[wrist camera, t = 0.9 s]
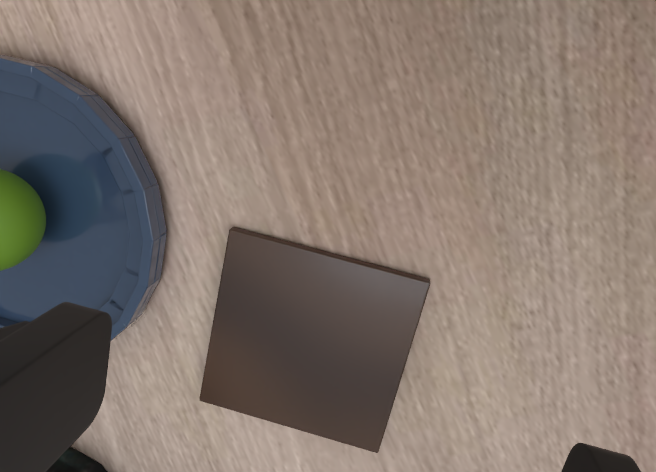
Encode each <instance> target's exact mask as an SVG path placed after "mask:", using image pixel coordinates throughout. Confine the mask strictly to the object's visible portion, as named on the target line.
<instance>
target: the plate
mask: <svg viewBox="0 0 656 472" xmlns="http://www.w3.org/2000/svg"><path fill="white" fill-rule="evenodd" d="M0 169H2V170H5V171H8V172H11V173H13V174H15V175H17V176H19V177H20V178H22V179H23V180H25V181H26V182H27V183H28V184H29V185H31V186H32V188H33V189H34V190H35V191H36V192H37V194H38V195H39V197H40V199H41V201H42V203H43V206H44V209H45V213H46V228H45V232H44V235H43V238H42V240H41V242H40V244H39V246H38V247H37V248H36V250H35V251H34V252H33V253H32V254H31V255H30V256H29V257H28V258H27V259H25V260H24V261H22V262H21V263H19V264H17V265H15V266H13V267H11V268H8V269H5V270H1V271H0V328H2V327H6V326H9V325H13V324H16V323H19V322H23V321H28V322H31V321H32V320H34V319H36V318H37V317H39V316H41V315H42V314H44V313H46V312H47V311H49V310H51V309H52V308H54V307H55V306H57V305H59V304H61V303H63V302H70V303H73V304H77V305H81V306H85V307H88V308H92V309H96V310H99V311H103V312H106V313H108V314H109V315H110V316H111V320H112V332H111V340H112V339H114V338H115V337H116V336H117V335H118V334H119V333H120V332H122V331H123V330H124V329H125V328H126V327H127V326H129V325H130V324H131V323H132V322H133V321H134V320H135V319H137V318H138V317H139V316H140V315H141V314H142V312H143V310H144V309H145V307H146V305H147V303H148V301H149V299H150V297H151V295H152V293H153V291H154V290H155V288H156V286H157V284H158V282H159V280H160V278H161V271H162V264H163V257H164V250H165V242H166V235H167V233H166V232H167V230H166V224H165V218H164V213H163V207H162V201H161V195H160V190H159V185H158V184H157V183H158V182H157V180H156V178H155V176H154V173H153V171H152V169H151V167H150V165H149V163H148V161H147V159H146V157H145V155H144V153H143V151H142V149H141V147H140V145H139V143H138V141H137V139H136V137H135V136H134V134H133V133H132V132H131V131H130V129H129V128H128V127H127V126H126V125H125V124H124V123H123V122H122V121H121V119H120V118H119V117H118V116H117V115H116V114H115V113H114V112H113V110H112V109H111V108H110V107H109V106H108V105H107V104H106V103H105V101H104V100H103V99H102V98H101V97H100V96H99V95H98V94H97V93H95V92H93V91H92V90H90V89H89V88H87V87H85V86H84V85H82V84H81V83H79V82H77V81H76V80H74V79H73V78H71V77H69V76H68V75H66V74H64V73H63V72H61V71H60V70H58V69H56V68H55V67H52V66H48V65H44V64H40V63H36V62H32V61H28V60H24V59H20V58H16V57H12V56H8V55H0Z"/></svg>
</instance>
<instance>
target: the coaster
mask: <svg viewBox="0 0 656 472" xmlns="http://www.w3.org/2000/svg"><path fill="white" fill-rule="evenodd" d="M429 286H430V279H427V278H423V277H419V276H416V275H412V274H408V273H404V272H401V271H397V270H393V269H389V268H386V267H382V266H378V265H374V264H371V263H367V262H363V261H359V260H356V259H352V258H348V257H344V256H341V255H337V254H333V253H329V252H326V251H322V250H318V249H314V248H311V247H307V246H303V245H299V244H296V243H292V242H288V241H284V240H281V239H277V238H273V237H269V236H266V235H262V234H258V233H254V232H251V231H247V230H243V229H239V228H236V227H232V228H231V229H230V230H229V236H228V242H227V247H226V253H225V258H224V264H223V270H222V275H221V281H220V287H219V292H218V298H217V304H216V309H215V315H214V320H213V326H212V332H211V337H210V343H209V349H208V354H207V360H206V366H205V371H204V377H203V382H202V388H201V394H200V401H203V402H206V403H210V404H213V405H217V406H220V407H223V408H227V409H230V410H234V411H237V412H240V413H244V414H247V415H250V416H254V417H257V418H261V419H264V420H267V421H271V422H274V423H278V424H281V425H284V426H288V427H291V428H295V429H298V430H301V431H305V432H308V433H311V434H315V435H318V436H322V437H325V438H328V439H332V440H335V441H339V442H342V443H345V444H349V445H352V446H355V447H359V448H362V449H366V450H369V451H372V452H376V453H378V451H379V448H380V445H381V442H382V438H383V435H384V432H385V429H386V425H387V422H388V419H389V416H390V412H391V409H392V406H393V403H394V399H395V396H396V393H397V390H398V386H399V383H400V380H401V377H402V374H403V370H404V367H405V364H406V361H407V357H408V354H409V351H410V348H411V344H412V341H413V338H414V335H415V331H416V328H417V325H418V322H419V318H420V315H421V312H422V309H423V305H424V302H425V299H426V296H427V293H428V289H429Z"/></svg>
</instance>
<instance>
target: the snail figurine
mask: <svg viewBox="0 0 656 472" xmlns="http://www.w3.org/2000/svg"><path fill="white" fill-rule="evenodd" d="M45 228H46V213H45V209H44V206H43V203H42V201H41V199H40V197H39V195H38V194H37V192H36V191H35V190H34V189H33V188H32V186H31V185H29V184H28V183H27V182H26V181H25V180H23V179H22V178H20V177H19V176H17V175H15V174H13V173H11V172H8V171H5V170H2V169H0V271H1V270H5V269H8V268H11V267H13V266H15V265H17V264H19V263H21V262H22V261H24V260H25V259H27V258H28V257H29V256H30V255H31V254H32V253H33V252H34V251H35V250H36V248H37V247H38V246H39V244H40V242H41V240H42V238H43V235H44V232H45Z"/></svg>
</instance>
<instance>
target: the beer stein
mask: <svg viewBox="0 0 656 472" xmlns="http://www.w3.org/2000/svg"><path fill="white" fill-rule="evenodd" d="M46 472H107V471H106V470H105V469H104V467H103V466H102V465H101V464H99V463H98V462H96V461H94V460H93V459H91V458H89V457H87V456H86V455H84V454H82V453H81V452H79V451H77V450H75V449H74V448H72V447H69V448H68V449H67V450H66V451H65V452H64V453H63V454H62V455H61V456H60V457H59V458H58V460H57V461H56V462H55V463H54V464H53V465H52V466H51V467H50V468H49V469H48V470H47V471H46Z"/></svg>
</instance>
